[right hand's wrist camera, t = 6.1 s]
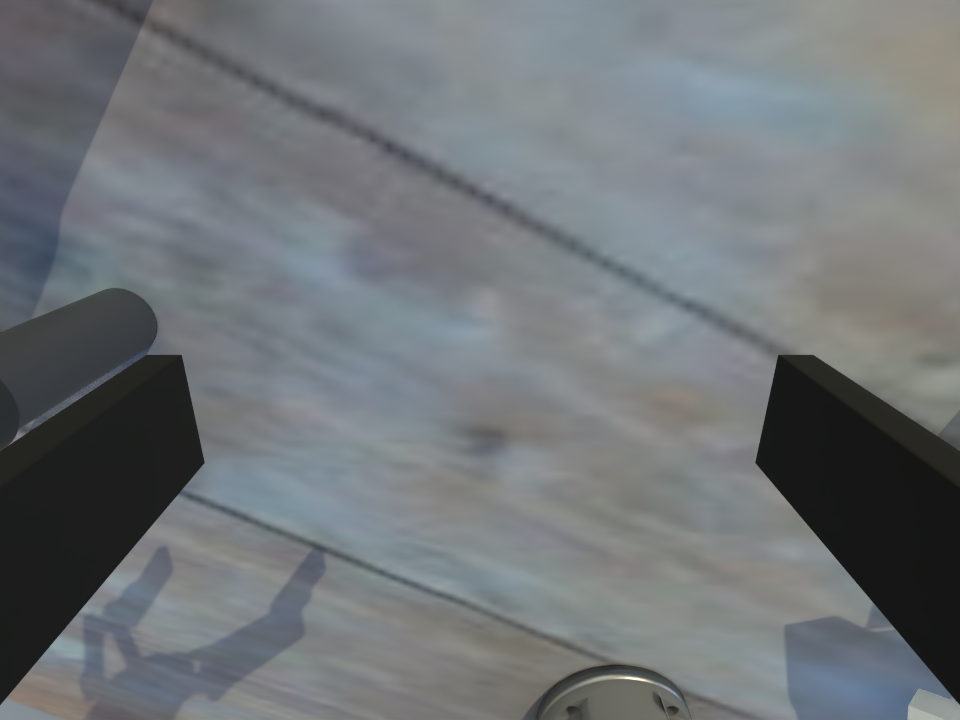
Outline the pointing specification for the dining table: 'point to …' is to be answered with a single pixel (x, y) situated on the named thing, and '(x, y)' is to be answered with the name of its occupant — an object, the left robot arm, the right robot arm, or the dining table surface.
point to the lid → (7, 417)
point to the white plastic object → (932, 707)
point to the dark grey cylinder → (72, 348)
